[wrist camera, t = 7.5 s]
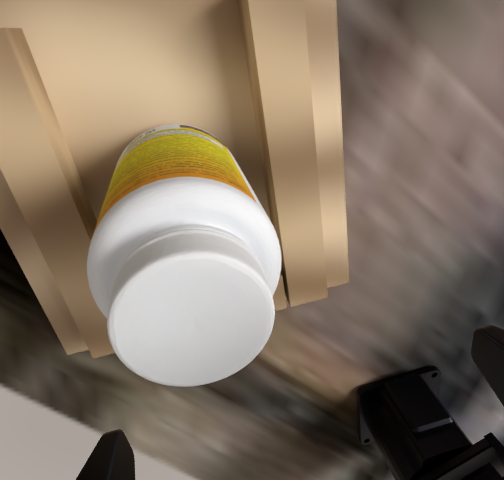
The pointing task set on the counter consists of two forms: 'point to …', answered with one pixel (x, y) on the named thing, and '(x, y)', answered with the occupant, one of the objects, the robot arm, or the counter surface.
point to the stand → (162, 113)
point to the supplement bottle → (183, 260)
